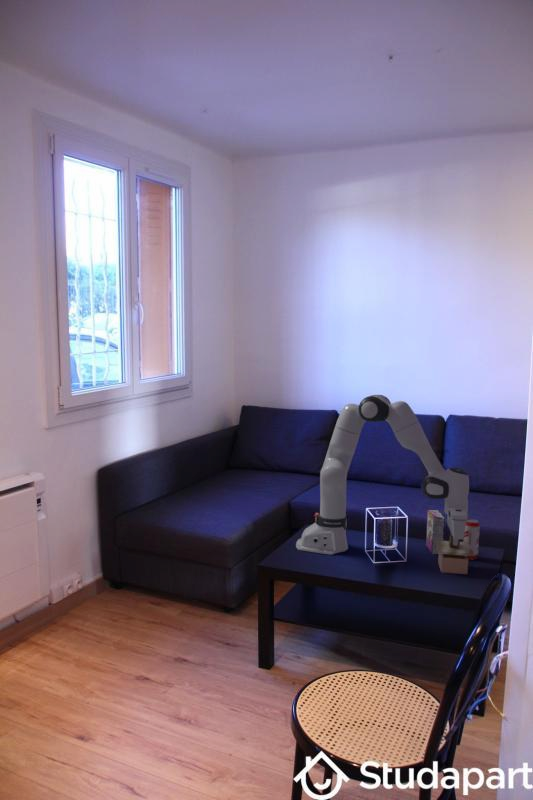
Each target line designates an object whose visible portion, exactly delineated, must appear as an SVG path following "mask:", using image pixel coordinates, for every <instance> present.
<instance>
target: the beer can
mask: <svg viewBox="0 0 533 800" xmlns="http://www.w3.org/2000/svg"><path fill="white" fill-rule="evenodd" d="M480 526H481V525H480V522H479V520H477V519H475V518H474V519H473V518H468V519H467V520H466V525H465V533H464V537H463V539H462V542H468V543H469V545H470V547H471V549H472V551H473V553H474V556H467V558H468V560H469V559H470V560H471V561H473V560H474V559H475V560H476V559H478V557H479V541H480V529H481V528H480ZM470 560H469V561H470ZM475 560H474V561H475Z"/></svg>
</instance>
